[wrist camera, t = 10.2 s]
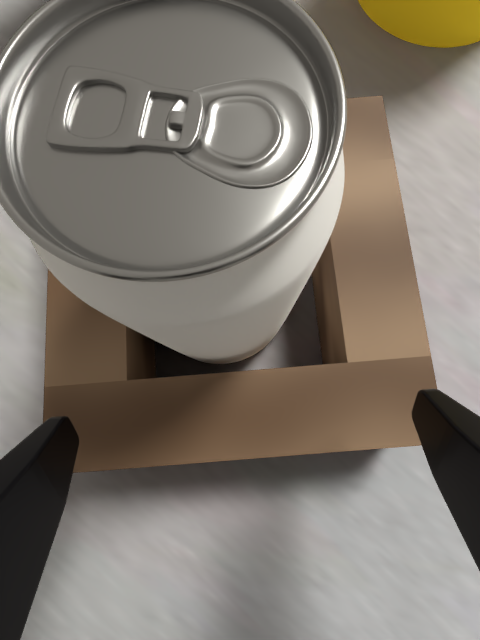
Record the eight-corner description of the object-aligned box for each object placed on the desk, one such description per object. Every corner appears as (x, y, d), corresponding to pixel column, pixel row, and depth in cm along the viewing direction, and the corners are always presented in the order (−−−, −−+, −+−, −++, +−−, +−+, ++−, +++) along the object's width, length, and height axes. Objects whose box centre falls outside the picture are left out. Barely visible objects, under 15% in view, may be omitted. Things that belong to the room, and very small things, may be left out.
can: (276, 375, 16) (356, 346, 4) (144, 353, 16) (-114, 273, 5) (294, 248, 17) (393, -43, 6) (170, 231, 18) (17, -79, 6)
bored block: (396, 428, 16) (447, 443, 12) (93, 452, 16) (41, 475, 12) (353, 158, 18) (382, 95, 14) (94, 179, 18) (52, 123, 14)
